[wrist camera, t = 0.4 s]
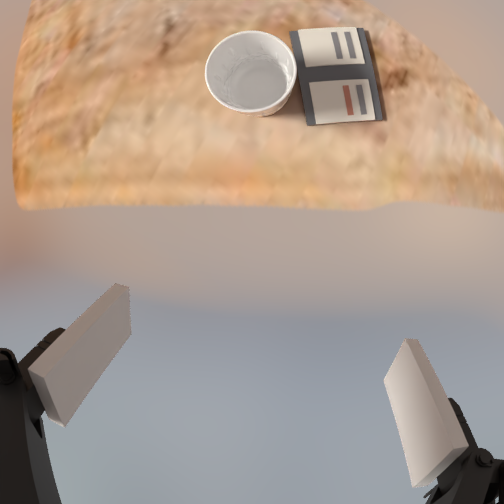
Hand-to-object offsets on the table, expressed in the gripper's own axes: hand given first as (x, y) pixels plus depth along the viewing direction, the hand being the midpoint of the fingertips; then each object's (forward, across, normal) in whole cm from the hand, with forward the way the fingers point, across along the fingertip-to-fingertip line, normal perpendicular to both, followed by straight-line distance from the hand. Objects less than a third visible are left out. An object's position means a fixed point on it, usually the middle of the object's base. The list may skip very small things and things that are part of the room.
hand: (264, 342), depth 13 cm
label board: (+25, +4, +18) cm, 31 cm away
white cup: (+25, -5, +14) cm, 30 cm away
